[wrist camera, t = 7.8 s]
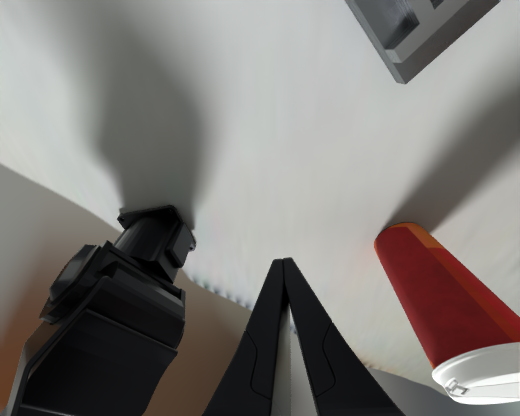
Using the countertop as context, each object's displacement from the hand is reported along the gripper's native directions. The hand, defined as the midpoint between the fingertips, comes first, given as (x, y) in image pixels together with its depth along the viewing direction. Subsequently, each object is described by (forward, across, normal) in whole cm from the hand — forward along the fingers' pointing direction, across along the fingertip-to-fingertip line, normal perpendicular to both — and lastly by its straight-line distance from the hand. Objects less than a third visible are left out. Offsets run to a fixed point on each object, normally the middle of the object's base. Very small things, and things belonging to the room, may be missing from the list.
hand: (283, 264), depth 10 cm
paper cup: (+12, -13, +13) cm, 22 cm away
